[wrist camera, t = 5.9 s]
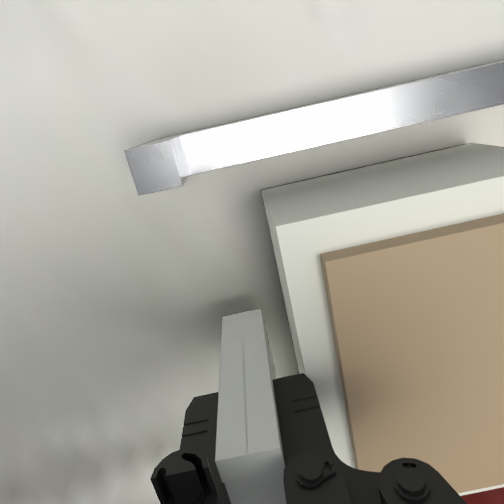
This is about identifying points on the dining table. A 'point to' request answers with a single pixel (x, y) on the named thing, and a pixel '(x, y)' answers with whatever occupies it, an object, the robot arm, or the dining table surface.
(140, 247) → the dining table surface
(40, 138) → the dining table surface
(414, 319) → the block
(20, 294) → the dining table surface
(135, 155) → the rail channel
